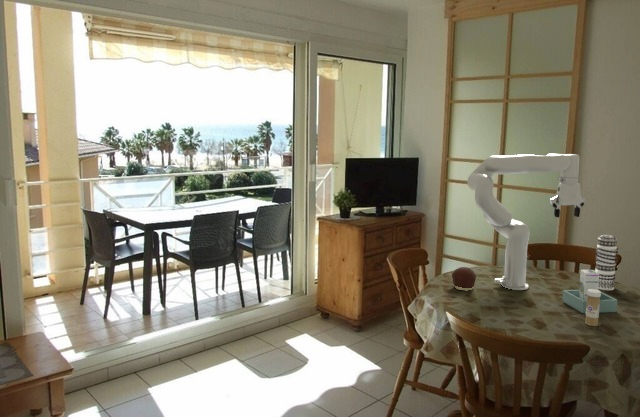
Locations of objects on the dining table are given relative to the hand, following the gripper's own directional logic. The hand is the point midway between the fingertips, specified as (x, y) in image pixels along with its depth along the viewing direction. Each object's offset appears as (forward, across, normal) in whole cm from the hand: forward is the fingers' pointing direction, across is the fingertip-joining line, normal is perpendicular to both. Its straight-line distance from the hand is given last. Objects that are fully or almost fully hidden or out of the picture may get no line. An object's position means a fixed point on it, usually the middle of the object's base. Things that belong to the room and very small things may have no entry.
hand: (566, 216), depth 236 cm
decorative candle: (+34, +17, -6) cm, 38 cm away
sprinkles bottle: (+34, -17, -49) cm, 62 cm away
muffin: (+34, -49, 0) cm, 59 cm away
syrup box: (+33, -6, -30) cm, 45 cm away
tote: (+33, -6, -30) cm, 45 cm away
